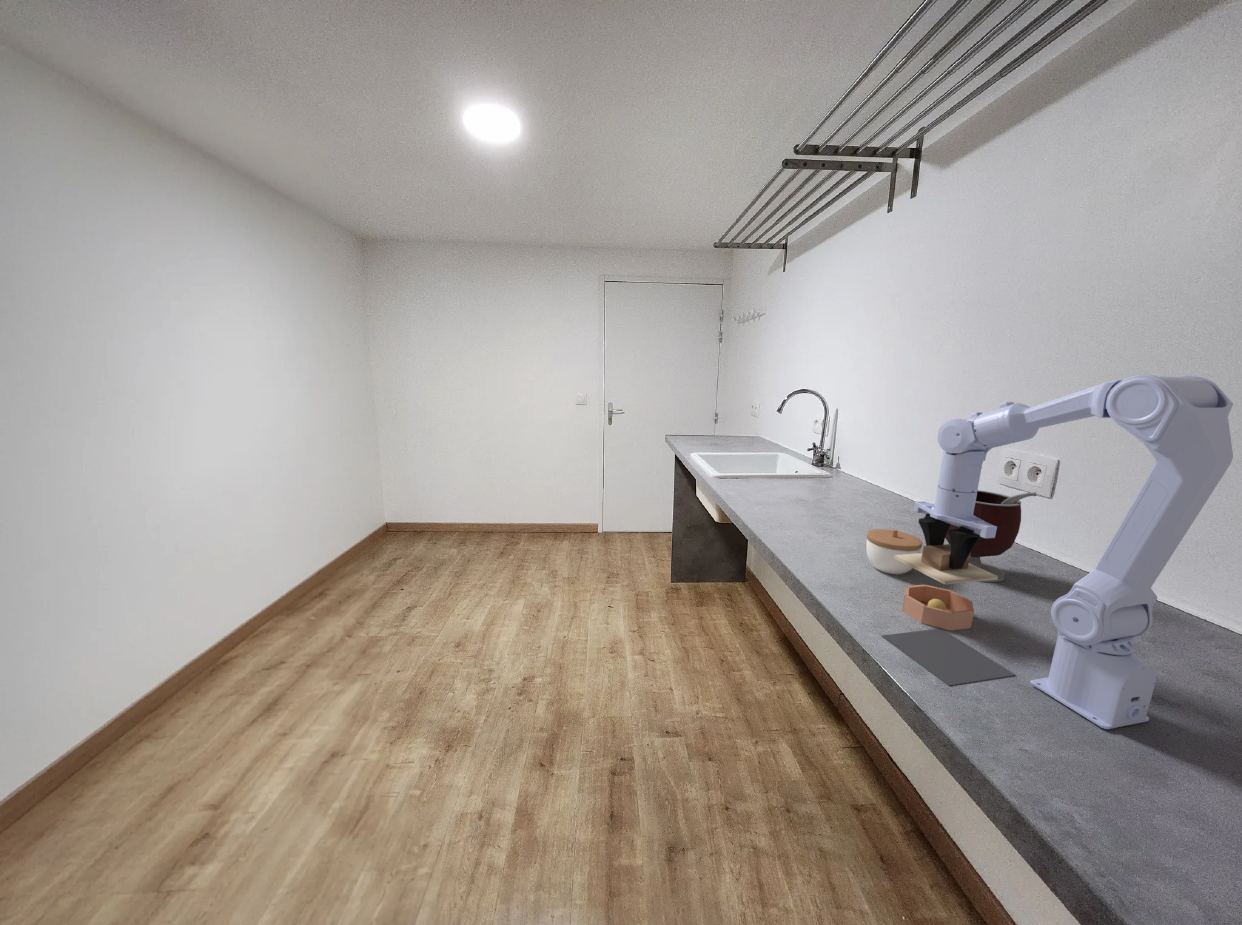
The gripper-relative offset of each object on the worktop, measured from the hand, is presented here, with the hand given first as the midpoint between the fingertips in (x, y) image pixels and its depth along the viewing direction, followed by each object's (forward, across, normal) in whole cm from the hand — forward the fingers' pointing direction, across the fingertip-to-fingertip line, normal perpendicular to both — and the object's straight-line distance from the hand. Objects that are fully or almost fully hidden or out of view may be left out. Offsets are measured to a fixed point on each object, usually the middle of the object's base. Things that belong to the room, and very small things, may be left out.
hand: (944, 562), depth 88 cm
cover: (+1, 0, 0) cm, 1 cm away
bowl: (+10, 0, 0) cm, 10 cm away
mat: (+10, +11, -10) cm, 18 cm away
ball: (+10, 0, 0) cm, 10 cm away
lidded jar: (+11, -19, +7) cm, 23 cm away
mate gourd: (+11, -15, +26) cm, 32 cm away
